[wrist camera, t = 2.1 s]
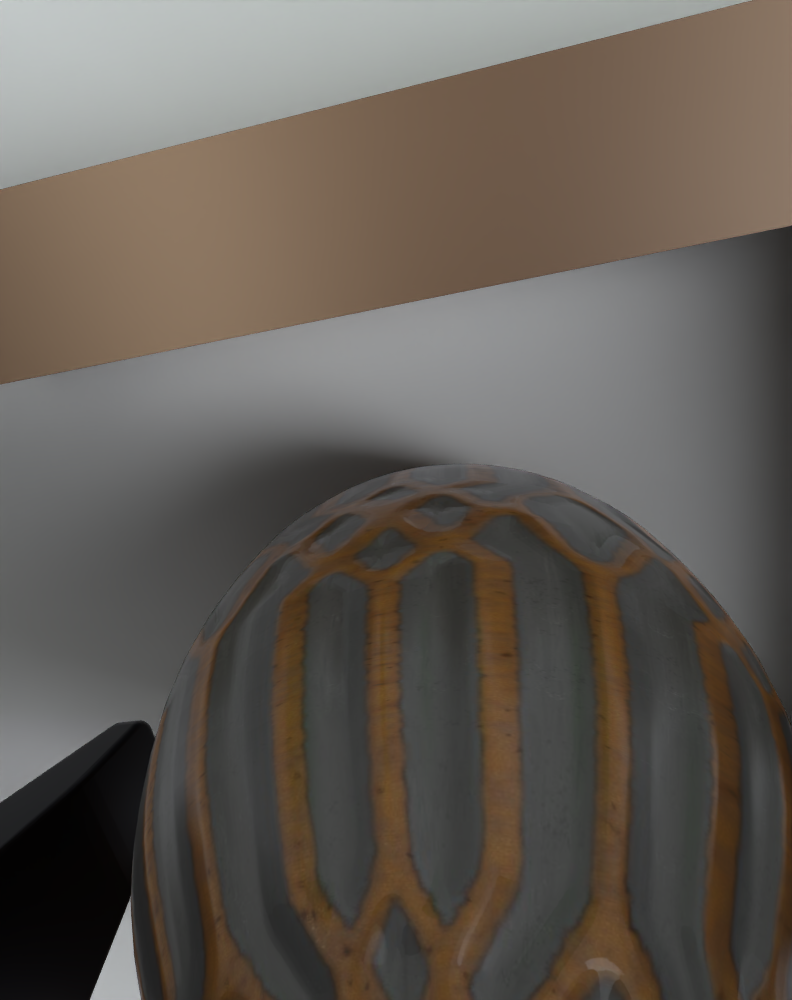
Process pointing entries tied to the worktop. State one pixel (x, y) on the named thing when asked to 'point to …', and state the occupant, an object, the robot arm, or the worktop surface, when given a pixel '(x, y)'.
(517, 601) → the vase
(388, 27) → the worktop surface
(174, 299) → the holder
